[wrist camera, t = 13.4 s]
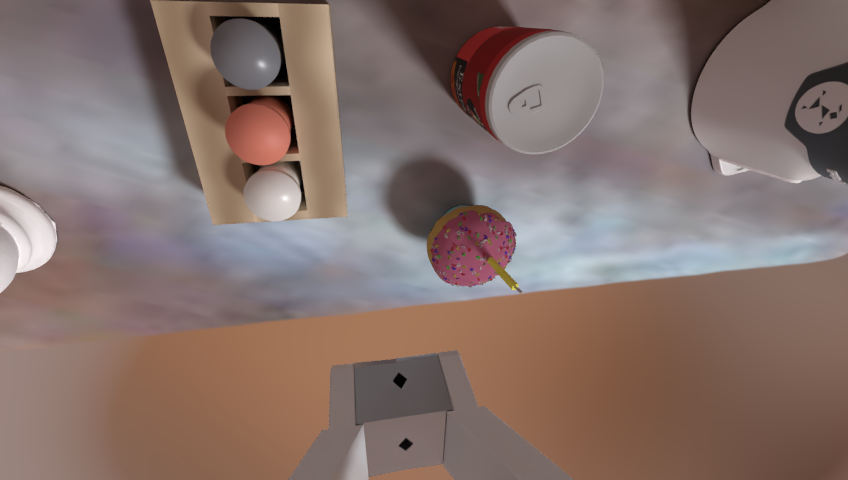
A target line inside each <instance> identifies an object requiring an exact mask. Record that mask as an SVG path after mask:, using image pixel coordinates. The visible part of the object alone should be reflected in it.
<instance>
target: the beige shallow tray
mask: <svg viewBox="0 0 848 480" xmlns="http://www.w3.org/2000/svg"><path fill="white" fill-rule="evenodd" d="M150 2H151V5H152V9H153V13H154V16H155V20H156V23H157V27H158V30H159V34H160V37H161V41H162V45H163V48H164V52H165V55H166V59H167V62H168V66H169V69H170V73H171V77H172V80H173V84H174V87H175V91H176V94H177V98H178V102H179V105H180V109H181V112H182V116H183V119H184V123H185V126H186V130H187V134H188V137H189V141H190V144H191V148H192V151H193V155H194V158H195V162H196V166H197V169H198V173H199V176H200V180H201V183H202V187H203V190H204V194H205V198H206V201H207V205H208V208H209V212H210V215H211V219H212V223H213V225H219V224H235V223H251V222H267V221H268V220H265V219H262V218H260V217H258V216H256V215H255V214H254V213H252V212H251V211H250V209H249V208H248V207H247V205H246V203H245V200H244V195H243V192H244V187H245V185H246V183H247V181H248V179H249V178H250V177H251V176H252V175H253V174H254V173H256V172H257V171H256V166H255V164H251V163H248V162H246V161H244V160H242V159H241V158H239V157H238V156H237V155H236V154H235V153H234V152H233V151H232V149H231V148H230V146H229V145H228V142H227V140H226V136H225V125H226V122H227V119H228V117H229V116H230V115H231V114H232V112H233V111H235V110H236V109H237V108H238V107H240V106H242V105H243V102H242V98H241V96H261V95H291V101H292V108H293V115H294V122H295V129H296V136H297V140H291V141H290V145H289V148H288V150H287V152H286V154H285V155H284V156H283V157H282V158H281V159H280V160H279V161H277V162H282V161H300V163H301V170H302V177H303V184H304V191H305V193H301V202H300V206H299V208H298V210H297V211H296V213H295V214H294V215H293V216H291V217H290V218H288V219H285V220H299V219H314V218H330V217H346V216H347V196H346V185H345V173H344V162H343V150H342V139H341V127H340V116H339V104H338V93H337V81H336V70H335V58H334V47H333V35H332V24H331V12H330V5H328V4H288V3H245V2H202V1H159V0H150ZM225 16H245V17H280V24H281V31H282V38H283V45H284V52H285V59H286V66H287V73H288V79H274V80H273V81H272V82H271V83H270V84H269V85H267V86H265V87H263V88H261V89H255V90H248V89H243V88H240V87H237V86H235V85H233V84H232V83H230V82H229V81H227V80H226V79H225V78H224V77H223V76H222V75H221V74H220V73H219V71H218V70H217V68H216V66H215V65H214V62H213V60H212V56H211V50H210V45H211V39H212V36H213V33H214V32H215V30H216V29H217V28H218V26H220V25H221V24H222V23H224V22H225V21H226V19H225ZM282 221H283V220H282Z"/></svg>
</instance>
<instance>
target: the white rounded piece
mask: <svg viewBox="0 0 848 480" xmlns="http://www.w3.org/2000/svg"><path fill="white" fill-rule="evenodd" d="M301 181H302V170H301V165H300V163H299V162H298V161H282V162H275V163H273V164H270V165H261V166H260V168H259V169H258V171H257V172H256V173H254V174H253V175H252V176H251V177H250V178H249V179H248V181H247V183H246V185H245V187H244V192H243V195H244V200H245V203H246V205H247V207H248V208H249V209H250V211H251V212H252V213H254V214H255V215H256V216H258V217H260V218H262V219H265V220H268V221H282V220H285V219H288V218H290V217H291V216H293V215H294V214H295V213H296V211H297V210H298V208H299V206H300V202H301V190H300V185H301Z"/></svg>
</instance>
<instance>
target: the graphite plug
mask: <svg viewBox="0 0 848 480" xmlns="http://www.w3.org/2000/svg"><path fill="white" fill-rule="evenodd" d="M210 50H211V56H212V60H213V62H214V65H215V66H216V68H217V70H218V71H219V73H220V74H221V75H222V76H223V77H224V78H225V79H226V80H227V81H229V82H230V83H232V84H233V85H235V86H237V87H240V88H243V89H248V90H255V89H261V88H263V87H265V86H267V85H269V84H270V83H271V82H272V81H273V80H274V79H275V78H276V76H277V75H278V73H279V70H280V67H281V66H282V64H283V62H284V59H285V52H284V45H283V40H282V38H281V37H280V35H279V34H278V33H277V32H276V31H275V30H274V29H273V28H272V27H270V26H269V25H267V24H264V23H260V22H255V21H252V20H248V19H231V20H228V21H225V22H224V23H222V24H221V25H220V26H218V28H217V29H216V30H215V32H214V33H213V36H212V39H211V45H210Z"/></svg>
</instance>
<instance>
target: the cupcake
mask: <svg viewBox="0 0 848 480" xmlns="http://www.w3.org/2000/svg"><path fill="white" fill-rule="evenodd" d="M515 234H516V233H515V232H514V229H513V227H512V225H511V223H510V222H506V220H505V219H504V218H503V217H502V215H501V214H500V213H498V212H497V211H495V210H493V209H491V208H489V207H487V206H483V205H476V206H466V205H461V206H456V207H453V208H451V209H450V210H448V211H447V212H446V213H445V214H444V215H443V216H442V217H441V218H440V219H438V221H437V222H436V223H435V225H434V227H433V229H432V231H431V232H430V234H429V236H428V239H427V253H428V257H429V260H430V262H431V264H432V266H433V268H434V270H435V272H436V273H437V275H438V276H439V277H440V278H441V279H442V280H443V281H445V282H447V283H450V284H452V285H453V286H454V284H455V285H456V286H457V285H459V286H462V287H463V286H469V287H470V286H471V287H472V286H475V285H483V283H486V282H487V281H491V280H492V279H493V278H495V276H496V275H499V276H500V277H501V278H502V279H503V280H504V281H505V282H506V283H507V285H508V286H509V287H510V288H511V289H512V290H517V291H518V292H520V293H523V292H522V291H521V290H520V289H519V288H518V284H517V283H516V282H515V281H514V280H513V279H512V278H511V276H510V275H509V274H508V273H507V272H506V271H505V270H504V269H505V268H506V266H507V264H508V263H509V262H510V261H511V259H512V258H511V257H512V254H514V250H515V249H514V248H515V247H516V245H515V244H516V242H515V241H516V239H515V236H516V235H515ZM509 260H510V261H509Z"/></svg>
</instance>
